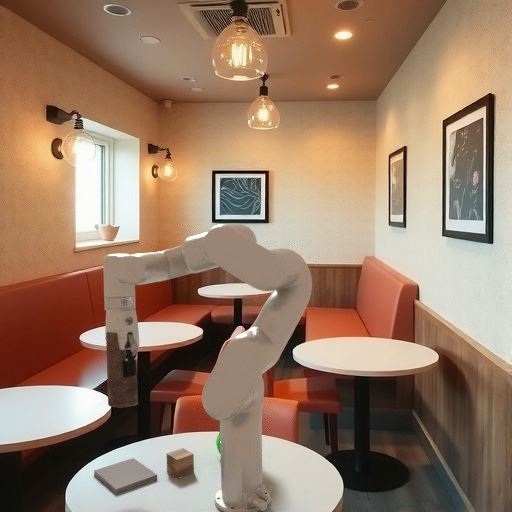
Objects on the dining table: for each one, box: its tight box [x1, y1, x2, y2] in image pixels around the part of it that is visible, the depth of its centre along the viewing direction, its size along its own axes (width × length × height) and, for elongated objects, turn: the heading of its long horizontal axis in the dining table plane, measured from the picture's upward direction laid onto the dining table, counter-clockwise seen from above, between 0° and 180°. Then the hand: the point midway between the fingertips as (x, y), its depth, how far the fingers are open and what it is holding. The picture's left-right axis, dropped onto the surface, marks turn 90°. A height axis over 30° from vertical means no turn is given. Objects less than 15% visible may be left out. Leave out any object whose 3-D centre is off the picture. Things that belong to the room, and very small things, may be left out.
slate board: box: [93, 457, 158, 495], centre depth 133 cm, size 13×11×1 cm
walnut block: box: [166, 447, 195, 480], centre depth 136 cm, size 5×5×5 cm
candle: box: [105, 332, 139, 409], centre depth 132 cm, size 8×7×20 cm
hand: (122, 372), depth 132 cm, fingers closed on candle, 7 cm apart
